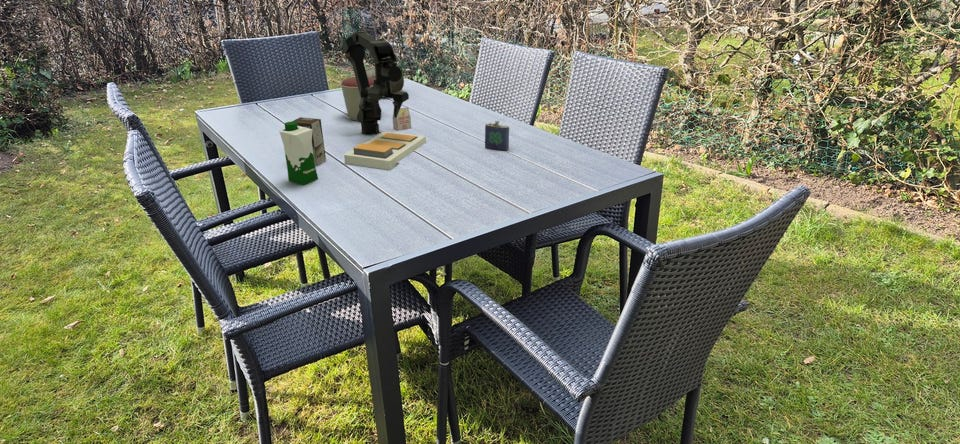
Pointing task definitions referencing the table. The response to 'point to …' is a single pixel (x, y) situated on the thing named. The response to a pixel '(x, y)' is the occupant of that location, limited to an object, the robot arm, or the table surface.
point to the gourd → (394, 85)
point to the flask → (497, 137)
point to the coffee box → (314, 137)
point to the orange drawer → (389, 144)
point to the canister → (353, 95)
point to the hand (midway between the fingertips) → (385, 116)
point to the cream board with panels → (389, 161)
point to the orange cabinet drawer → (399, 137)
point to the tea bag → (402, 119)
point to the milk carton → (299, 153)
